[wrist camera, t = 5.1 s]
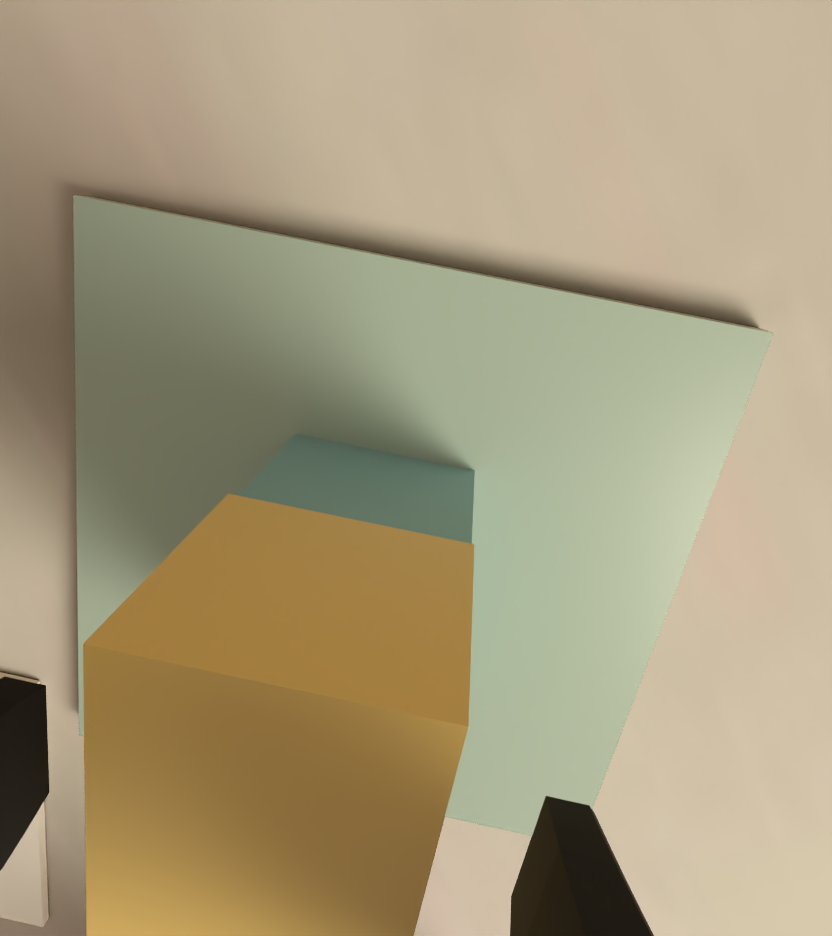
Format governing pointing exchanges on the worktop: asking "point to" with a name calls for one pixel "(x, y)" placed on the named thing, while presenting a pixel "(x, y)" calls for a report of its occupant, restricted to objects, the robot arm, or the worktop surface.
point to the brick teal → (369, 487)
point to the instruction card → (26, 871)
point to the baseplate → (414, 450)
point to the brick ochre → (276, 728)
